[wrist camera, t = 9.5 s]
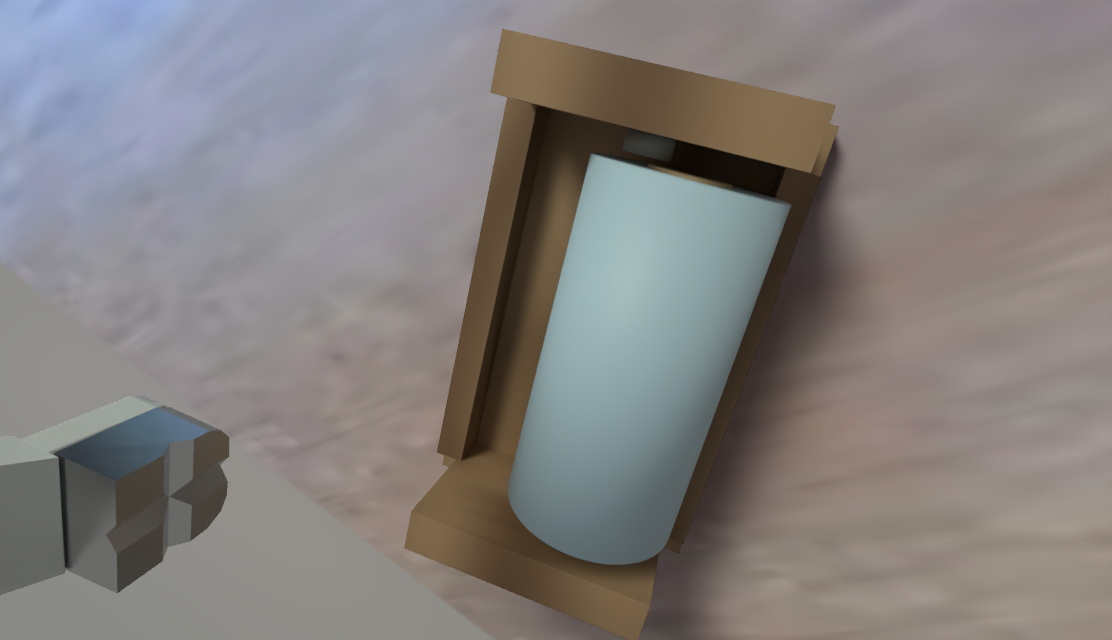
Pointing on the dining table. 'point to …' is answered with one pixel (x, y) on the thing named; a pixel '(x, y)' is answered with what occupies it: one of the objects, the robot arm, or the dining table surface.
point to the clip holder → (533, 275)
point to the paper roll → (637, 354)
